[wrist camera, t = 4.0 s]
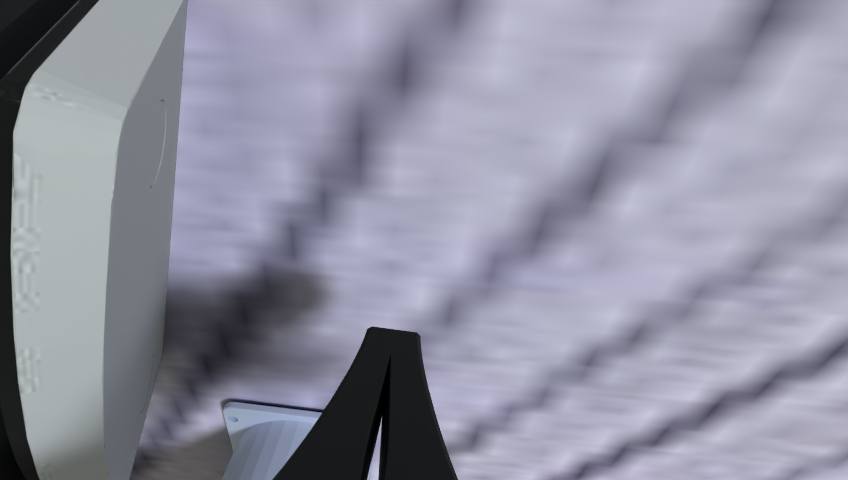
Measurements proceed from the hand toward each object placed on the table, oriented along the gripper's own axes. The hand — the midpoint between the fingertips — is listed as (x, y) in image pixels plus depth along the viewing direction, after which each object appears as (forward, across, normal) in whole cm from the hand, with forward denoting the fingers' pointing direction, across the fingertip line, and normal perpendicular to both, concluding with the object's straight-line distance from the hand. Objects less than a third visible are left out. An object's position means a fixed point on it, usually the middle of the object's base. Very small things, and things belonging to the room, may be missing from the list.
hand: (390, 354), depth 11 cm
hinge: (+5, +10, 0) cm, 11 cm away
